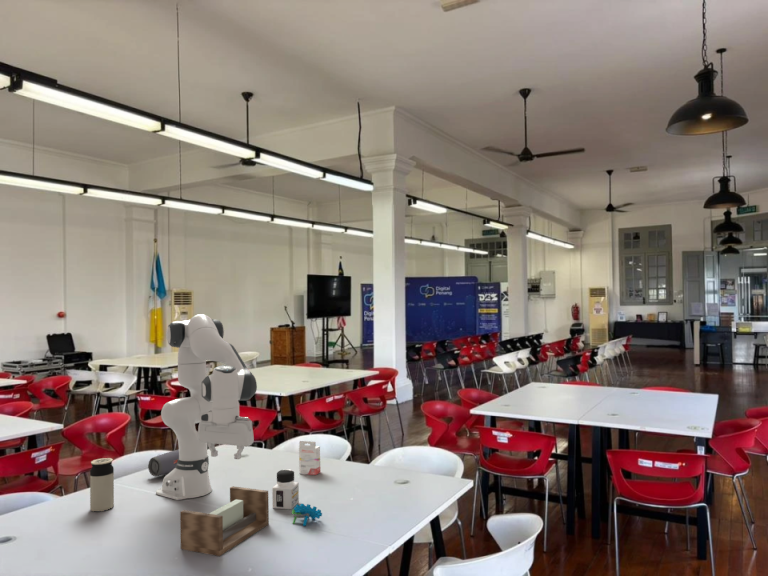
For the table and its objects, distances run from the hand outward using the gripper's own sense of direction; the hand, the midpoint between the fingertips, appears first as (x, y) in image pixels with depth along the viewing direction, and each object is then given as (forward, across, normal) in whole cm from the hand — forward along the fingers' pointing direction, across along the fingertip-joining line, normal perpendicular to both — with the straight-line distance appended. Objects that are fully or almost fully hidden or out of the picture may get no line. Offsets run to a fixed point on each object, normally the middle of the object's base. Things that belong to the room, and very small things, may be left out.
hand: (226, 457), depth 184 cm
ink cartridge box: (+26, +9, -70) cm, 75 cm away
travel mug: (+26, +62, -5) cm, 67 cm away
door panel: (+24, 0, 0) cm, 24 cm away
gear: (+26, -19, -19) cm, 37 cm away
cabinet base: (+26, 0, 0) cm, 26 cm away
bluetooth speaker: (+26, +69, -51) cm, 90 cm away
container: (+26, -3, -31) cm, 41 cm away
